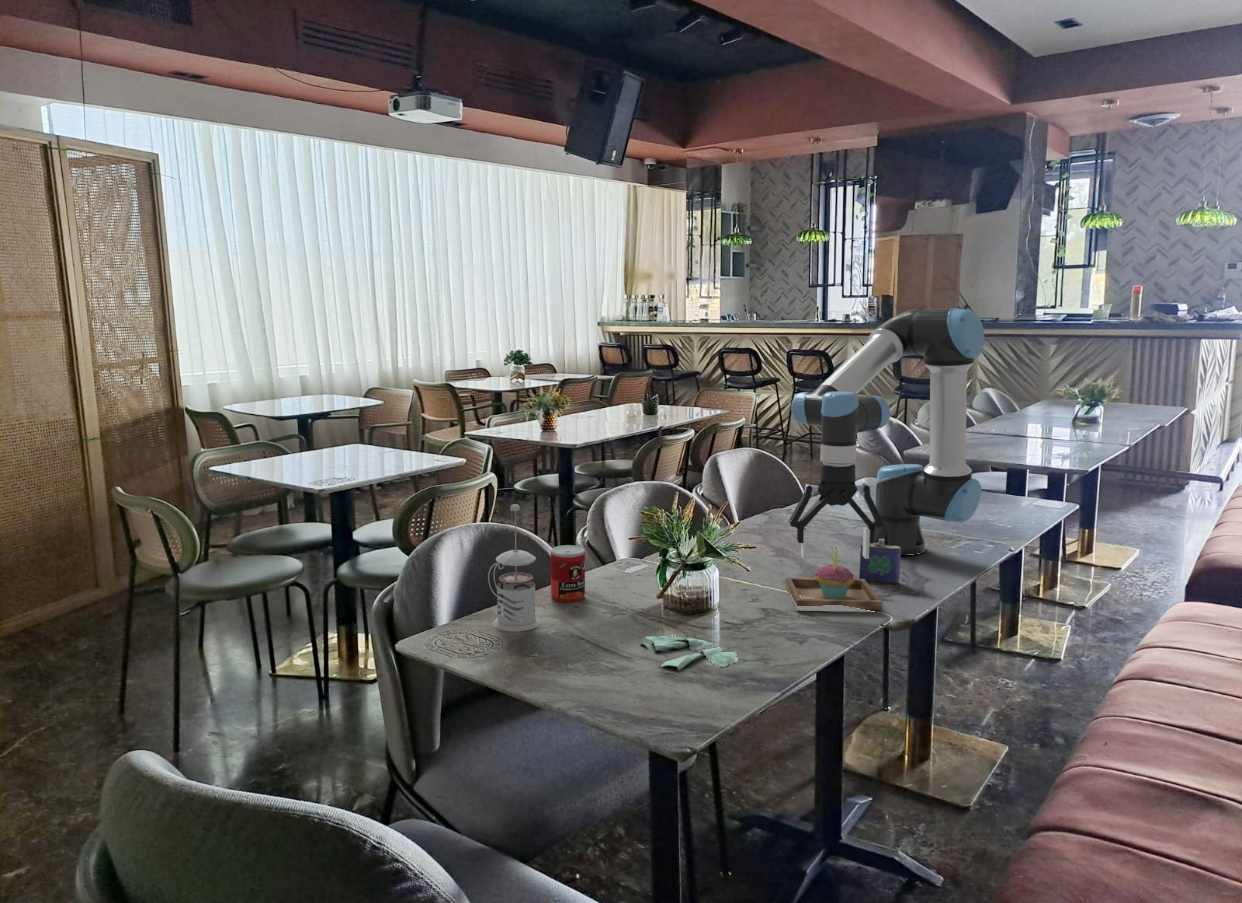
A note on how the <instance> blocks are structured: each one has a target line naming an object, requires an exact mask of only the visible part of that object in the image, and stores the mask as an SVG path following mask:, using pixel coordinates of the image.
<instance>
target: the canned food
mask: <svg viewBox="0 0 1242 903" xmlns="http://www.w3.org/2000/svg"><path fill="white" fill-rule="evenodd" d="M585 550H586V549H585V548H584V547H582V546H578V545H574V544H573V545H572V544H566V545H557V546H554V547H552V548H551V549H550V594H551V598H552V600H554V601H557V602H561V603H575V602H579V601H581V600H583V599H584V597H585V594H586V551H585Z"/></svg>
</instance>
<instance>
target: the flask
mask: <svg viewBox="0 0 1242 903" xmlns="http://www.w3.org/2000/svg"><path fill="white" fill-rule="evenodd" d="M884 540H885V539H882V538H881V539H879V542H878V543H876V544H875V543H873V544H872V543H869V559H865V558H864V556H863V543H861V544H860V551H859V552H860V556H859V558H860V559H859V572H858V573H859V574H858V576H859V577H858V579H865V581H866V582H867V583H868V584H881V585H891V584H893V585H899V584H898V583H900V575H901V574H900V572H901V557H902V556H901V548H900V547H899V546H884Z"/></svg>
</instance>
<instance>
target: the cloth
mask: <svg viewBox="0 0 1242 903" xmlns="http://www.w3.org/2000/svg"><path fill="white" fill-rule="evenodd" d="M645 639H646V640H649V641H651V642H650V644H649V643H646V642H645V643H644V642H641V643H640V644H639V647H645V648H646V649H647V650H648V651H650V652H652V653H663V652H671V651H674V650H679V649H680V650H683V649H687V648H689V650H691V649H695V648H697V649H699V648H700V647H704V646H708V645H711V644H714V643H713V642H708V641H706V640H704V639H698V638H691V637H690V638H688V637H687V638H685V637H680V636H677V637H671V636H669V635H668V636H667V635H665V636H664V635H662V636H656V635H655V636H654V635H653V636H645ZM722 650H723V649H721V648H720V647H719V646H718V647H717V648H711V649H705V650H703V649H702V651H699V652H697V653H696V652H695V653H693V654H686V655H681V656H680V657H677V658H674V659H670V660H668V661H664V662H663V663H662V664H661V665H660V668H664V667H667V666H669V667H668V669H671V670H676V671H677V672H681V671H682V670H684V668H685V667H686V666H688V665H691V664H693V663H695V661H696V662H697V660H698V661H700V660H702V659H701V658H703V657H705V656H706V657H705V659H706V660H707V659H708V658H711V657H712V659H713V660H711V662H712V663H716V664H719V665H720V666H721V665H722V666H726V665H728V663H730V662H733V661H734V662H737V661H738V660H739V659H740V658H739V659H738V657H739V656H738V657H736V656H737V654H738V653H737V652H736V651H735V652H736V653H737V654H736V653H735V652H721V651H722ZM691 651H692V652H694V650H691ZM699 659H700V660H699ZM703 659H704V658H703ZM711 662H710V663H711ZM712 663H711V664H712Z"/></svg>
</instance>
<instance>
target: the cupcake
mask: <svg viewBox="0 0 1242 903" xmlns="http://www.w3.org/2000/svg"><path fill="white" fill-rule="evenodd" d="M838 551H839V550H838V547H837V546H835V549H834V552H833V553H834V556H833V564H826V565H824V566H822V567H820V568H817V570H815V571H816V572H814V578H815V580H816V581H818V582H819V584H820V586H821V589H822V593H823V596H824V597H825V598H827V599H835V600H841V599H844V598H845V596H846V593H847V591H848V589H849V587H850V585H851V584H853V583H854V579H855V578H854V577H855V575H854V574H853V572H852V571H851V570H850V569H849V568H846V567H843V566H842V565H839V564H838Z"/></svg>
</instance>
